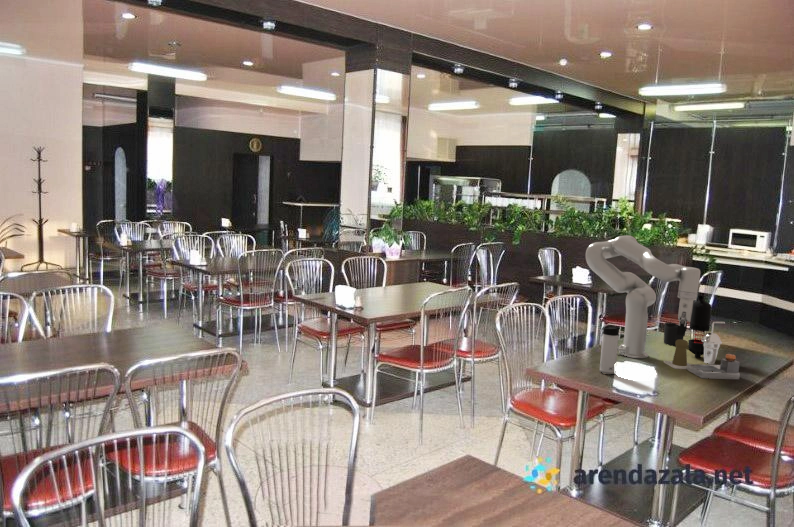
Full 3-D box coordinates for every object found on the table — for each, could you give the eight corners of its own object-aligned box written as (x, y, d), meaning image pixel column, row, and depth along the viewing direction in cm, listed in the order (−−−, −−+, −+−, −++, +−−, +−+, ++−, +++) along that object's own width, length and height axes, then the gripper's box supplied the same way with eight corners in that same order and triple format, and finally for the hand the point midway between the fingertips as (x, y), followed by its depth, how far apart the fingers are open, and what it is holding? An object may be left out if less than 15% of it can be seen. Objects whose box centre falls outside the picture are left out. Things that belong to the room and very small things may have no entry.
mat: (674, 368, 263) (674, 367, 263) (663, 362, 273) (663, 360, 273) (696, 369, 263) (696, 368, 263) (685, 362, 273) (685, 361, 273)
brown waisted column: (675, 365, 265) (678, 341, 264) (669, 362, 271) (672, 338, 270) (689, 366, 265) (692, 341, 264) (683, 362, 271) (685, 338, 270)
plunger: (727, 369, 252) (729, 356, 251) (722, 367, 256) (724, 353, 255) (736, 369, 252) (737, 356, 251) (731, 367, 256) (732, 354, 255)
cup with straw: (711, 360, 280) (715, 317, 277) (725, 365, 271) (729, 322, 269) (694, 360, 278) (699, 317, 276) (708, 365, 270) (712, 322, 267)
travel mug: (614, 376, 248) (618, 328, 246) (597, 373, 252) (601, 326, 249) (617, 372, 253) (621, 326, 251) (601, 369, 257) (605, 323, 254)
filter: (705, 361, 276) (712, 297, 273) (684, 357, 282) (690, 294, 278) (711, 355, 287) (717, 293, 284) (690, 352, 293) (696, 291, 289)
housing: (701, 378, 250) (703, 361, 249) (686, 369, 262) (688, 354, 261) (739, 379, 251) (741, 362, 250) (722, 370, 263) (724, 355, 262)
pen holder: (665, 345, 305) (667, 326, 303) (660, 341, 314) (662, 322, 313) (685, 347, 303) (687, 327, 302) (679, 342, 312) (681, 323, 311)
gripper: (695, 299, 256) (689, 338, 259) (697, 293, 271) (691, 330, 274) (676, 296, 260) (670, 335, 262) (679, 291, 275) (673, 327, 277)
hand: (681, 332), depth 268 cm, fingers open, 9 cm apart
